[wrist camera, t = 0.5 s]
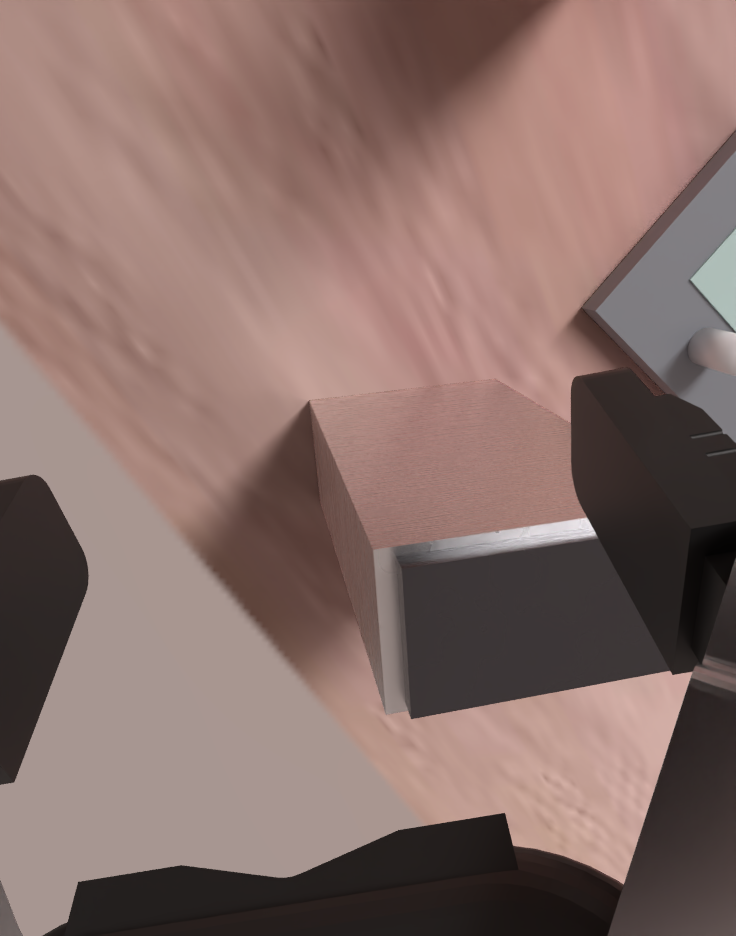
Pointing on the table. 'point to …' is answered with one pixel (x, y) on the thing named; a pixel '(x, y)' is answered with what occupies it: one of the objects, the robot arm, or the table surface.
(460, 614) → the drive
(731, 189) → the pin tray
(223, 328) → the table surface
